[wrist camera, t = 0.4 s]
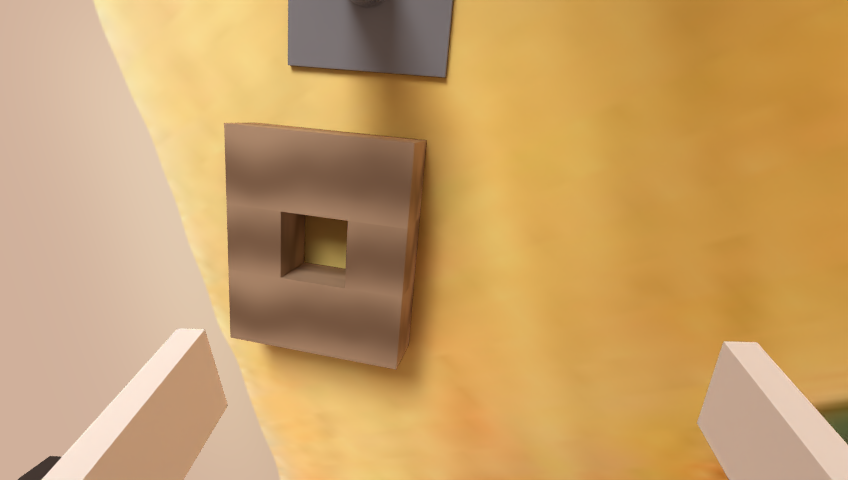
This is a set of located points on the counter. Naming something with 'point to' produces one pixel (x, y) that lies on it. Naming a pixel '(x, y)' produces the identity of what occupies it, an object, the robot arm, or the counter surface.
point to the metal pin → (368, 3)
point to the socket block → (285, 238)
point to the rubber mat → (371, 36)
